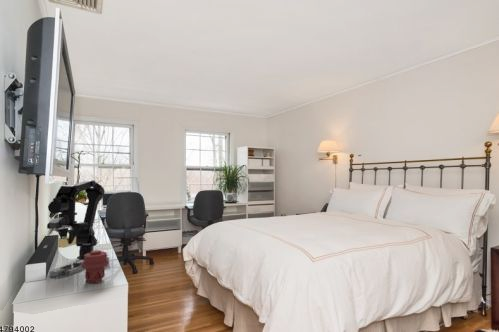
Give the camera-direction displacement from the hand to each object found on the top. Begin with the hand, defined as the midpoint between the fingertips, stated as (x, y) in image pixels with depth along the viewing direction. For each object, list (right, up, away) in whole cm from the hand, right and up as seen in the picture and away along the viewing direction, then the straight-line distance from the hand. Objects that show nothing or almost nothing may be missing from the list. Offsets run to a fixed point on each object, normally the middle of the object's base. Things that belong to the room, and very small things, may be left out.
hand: (67, 243), depth 137 cm
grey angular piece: (+16, -12, +1) cm, 20 cm away
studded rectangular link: (+5, -11, -7) cm, 14 cm away
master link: (0, -1, 0) cm, 1 cm away
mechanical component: (+24, -11, -19) cm, 32 cm away
